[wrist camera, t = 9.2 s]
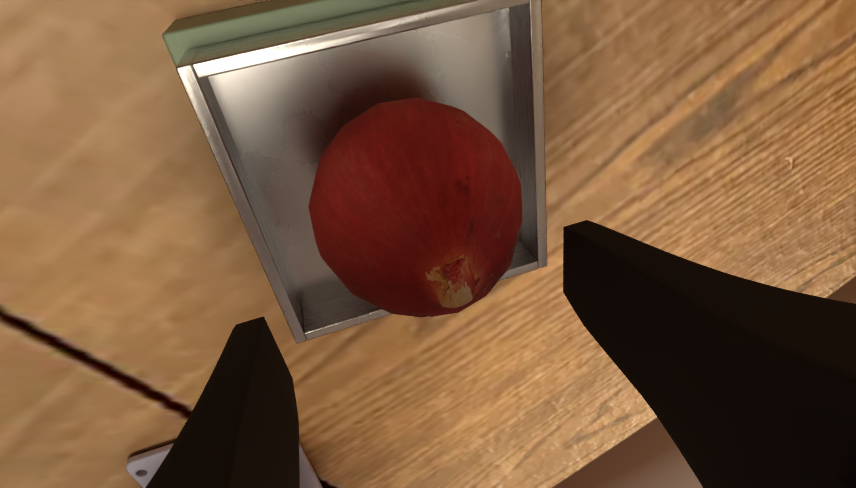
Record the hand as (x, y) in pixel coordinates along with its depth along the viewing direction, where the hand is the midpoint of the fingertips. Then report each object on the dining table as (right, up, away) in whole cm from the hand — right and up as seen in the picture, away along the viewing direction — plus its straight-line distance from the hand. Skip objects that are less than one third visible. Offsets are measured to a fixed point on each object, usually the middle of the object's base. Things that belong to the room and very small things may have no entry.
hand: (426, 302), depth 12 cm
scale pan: (-1, +4, +6) cm, 7 cm away
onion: (-1, +4, +5) cm, 7 cm away
